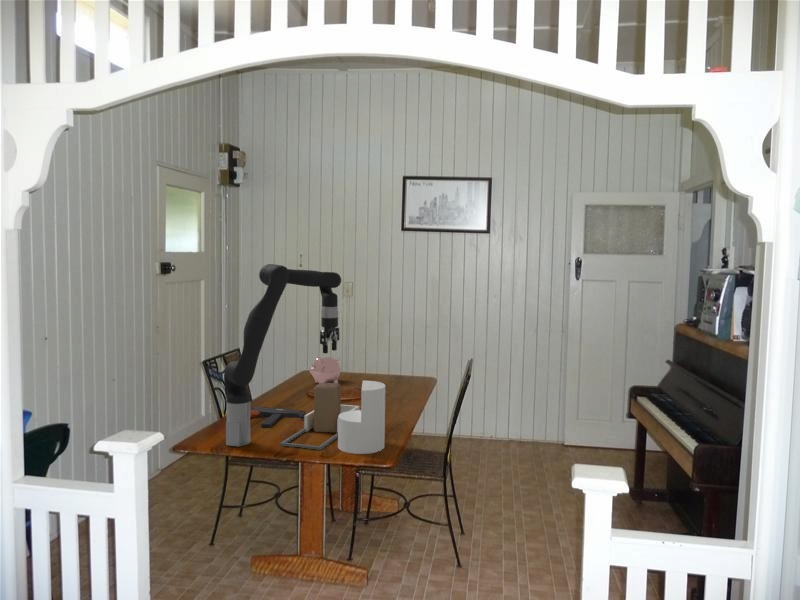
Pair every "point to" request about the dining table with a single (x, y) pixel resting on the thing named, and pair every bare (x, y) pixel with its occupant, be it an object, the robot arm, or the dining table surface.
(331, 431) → the wooden block
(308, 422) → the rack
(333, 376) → the piggy bank
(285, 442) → the frame
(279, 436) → the dining table surface
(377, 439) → the cylinder
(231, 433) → the robot arm
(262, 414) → the submachine gun
